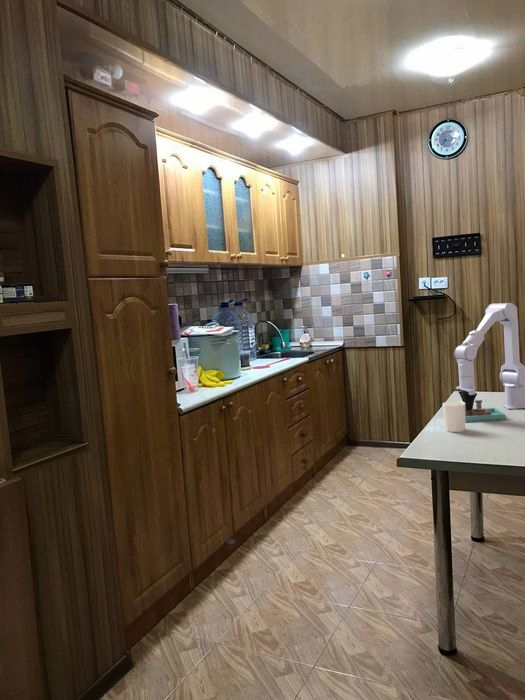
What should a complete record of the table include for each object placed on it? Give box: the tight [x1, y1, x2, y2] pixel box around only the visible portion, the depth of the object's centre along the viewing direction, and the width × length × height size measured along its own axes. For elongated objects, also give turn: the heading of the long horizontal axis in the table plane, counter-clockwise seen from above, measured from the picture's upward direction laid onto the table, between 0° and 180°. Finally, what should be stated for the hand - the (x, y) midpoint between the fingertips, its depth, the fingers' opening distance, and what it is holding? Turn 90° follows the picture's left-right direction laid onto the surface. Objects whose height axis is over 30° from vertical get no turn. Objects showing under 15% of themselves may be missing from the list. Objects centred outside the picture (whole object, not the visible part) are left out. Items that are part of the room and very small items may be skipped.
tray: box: [465, 407, 506, 423], centre depth 217 cm, size 16×12×2 cm
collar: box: [465, 407, 491, 416], centre depth 217 cm, size 10×7×5 cm
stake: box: [474, 399, 483, 409], centre depth 228 cm, size 3×2×4 cm
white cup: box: [442, 400, 466, 433], centre depth 202 cm, size 8×8×10 cm
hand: (468, 409), depth 218 cm, fingers closed on collar, 2 cm apart
